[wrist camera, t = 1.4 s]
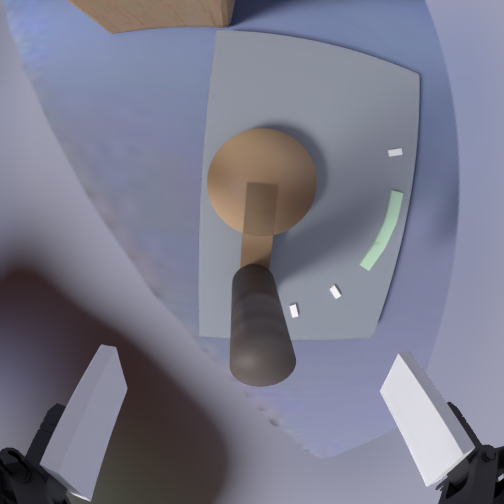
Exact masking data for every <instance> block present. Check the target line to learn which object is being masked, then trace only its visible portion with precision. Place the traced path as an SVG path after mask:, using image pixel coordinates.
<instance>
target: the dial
mask: <svg viewBox="0 0 504 504" xmlns="http://www.w3.org/2000/svg"><path fill="white" fill-rule="evenodd" d="M207 189H208V195H209V198H210V201H211V204H212V206H213V208H214V209H215V211H216V213H217V214H218V215H219V217H220V218H221V219H222V220H223V221H224V222H225V223H226V224H228V225H229V226H230V227H232V228H233V229H235V230H237V231H239V232H242V245H241V259H240V269H239V270H238V271H237V272H236V273H235V275H234V277H233V280H232V298H231V332H230V370H231V372H232V374H233V376H234V377H235V378H236V379H237V380H239V381H240V382H242V383H244V384H247V385H251V386H258V387H262V386H270V385H274V384H277V383H279V382H281V381H283V380H284V379H286V378H287V377H288V376H289V375H290V374H291V373H292V372H293V370H294V368H295V365H296V358H295V354H294V350H293V346H292V342H291V339H290V335H289V331H288V328H287V324H286V320H285V316H284V313H283V309H282V305H281V302H280V298H279V294H278V291H277V287H276V284H275V280H274V277H273V275H272V273H271V272H270V270H269V268H270V259H271V251H272V242H273V235H275V234H279V233H282V232H284V231H286V230H288V229H290V228H292V227H293V226H295V225H296V224H297V223H298V222H299V221H301V220H302V219H303V217H304V216H305V215H306V214H307V212H308V211H309V209H310V207H311V205H312V203H313V201H314V198H315V194H316V189H317V176H316V170H315V166H314V164H313V161H312V159H311V157H310V155H309V154H308V152H307V151H306V149H305V148H304V147H303V146H302V145H301V144H300V143H299V142H298V141H297V140H296V139H294V138H293V137H291V136H289V135H288V134H285V133H283V132H280V131H277V130H273V129H264V128H259V129H251V130H247V131H244V132H241V133H239V134H237V135H235V136H233V137H232V138H230V139H229V140H228V141H226V142H225V143H224V144H223V145H222V146H221V147H220V148H219V150H218V151H217V152H216V154H215V156H214V157H213V159H212V162H211V164H210V167H209V171H208V176H207Z"/></svg>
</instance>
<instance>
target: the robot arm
mask: <svg viewBox="0 0 504 504" xmlns="http://www.w3.org/2000/svg"><path fill="white" fill-rule="evenodd" d="M126 391H127V385H126V382H125V379H124V376H123V372H122V368H121V365H120V361H119V357H118V353H117V349H116V347H111V346H106V345H101V346H100V348H99V349H98V351H97V352H96V354H95V356H94V358H93V359H92V361H91V363H90V364H89V366H88V368H87V370H86V372H85V373H84V375H83V377H82V379H81V380H80V382H79V384H78V386H77V388H76V390H75V391H74V393H73V395H72V397H71V399H70V401H69V403H68V405H67V407H66V406H63V405H60V404H56V405H54V406H53V407H52V408H51V409H50V410H49V411H48V412H47V414H46V416H45V418H44V421H43V422H42V423H41V425H40V429H39V430H38V431H37V433H36V435H35V438H34V439H33V441H32V443H31V445H30V448H29V450H28V452H27V454H26V456H25V457H24V456H23V455H22V454H21V453H20V452H19V451H18V450H16V449H14V448H5V449H2V450H1V451H0V504H71V503H70V501H69V499H68V497H67V496H66V492H67V490H68V491H70V492H71V493H72V494H74V495H76V496H78V497H81V498H83V499H86V500H88V501H91V498H92V494H93V491H94V487H95V484H96V480H97V477H98V473H99V470H100V467H101V463H102V460H103V457H104V454H105V451H106V448H107V445H108V442H109V439H110V436H111V433H112V430H113V427H114V424H115V421H116V418H117V415H118V413H119V410H120V407H121V404H122V402H123V399H124V396H125V394H126ZM380 393H381V394H382V396H383V398H384V400H385V402H386V404H387V406H388V408H389V410H390V412H391V414H392V416H393V418H394V420H395V422H396V424H397V426H398V427H399V429H400V431H401V433H402V436H403V438H404V440H405V442H406V444H407V446H408V447H409V450H410V452H411V454H412V456H413V458H414V460H415V463H416V465H417V467H418V469H419V471H420V473H421V476H422V478H423V480H424V482H425V484H426V486H429V485H431V484H433V483H435V482H437V481H439V480H440V479H441V478H443V477H444V476H445V475H446V474H447V476H448V477H447V478H446V479H445V480H444V481H443V482H441V483H440V484H439V485H438V486H437V488H436V490H438V489H439V488H440V487H442V486H443V485H444V486H443V487H442V488H441V489H440V491H442V494H441V497H440V500H439V503H438V504H504V478H503V479H502V480H501V481H498V477H499V476H501V475H502V474H503V473H504V446H502V447H499V448H494V447H493V446H491V445H482V444H481V443H480V441H479V440H478V439H477V437H476V435H475V433H474V432H473V430H472V429H471V427H470V426H469V424H468V423H466V420H465V418H464V417H462V414H461V412H460V411H459V409H458V408H457V407H456V406H454V405H453V404H452V403H451V402H448V403H446V401H445V400H444V398H443V397H442V395H441V394H440V393H439V391H438V390H437V389H436V387H435V385H434V384H433V382H432V381H431V380H430V378H429V377H428V375H427V374H426V373H425V371H424V370H423V369H422V367H421V366H420V365H419V363H418V362H417V360H416V359H415V358H414V356H413V355H412V354H411V352H404V353H398V355H397V357H396V360H395V362H394V364H393V366H392V368H391V370H390V372H389V374H388V376H387V378H386V380H385V382H384V384H383V386H382V388H381V390H380Z"/></svg>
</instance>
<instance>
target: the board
mask: <svg viewBox="0 0 504 504" xmlns="http://www.w3.org/2000/svg"><path fill="white" fill-rule="evenodd" d="M419 98H420V80H419V74H417V73H415V72H412V71H410V70H408V69H405V68H403V67H400V66H398V65H395V64H393V63H390V62H387V61H384V60H382V59H379V58H376V57H373V56H370V55H367V54H364V53H360V52H357V51H354V50H350V49H346V48H343V47H339V46H335V45H331V44H327V43H322V42H318V41H313V40H308V39H302V38H297V37H291V36H284V35H277V34H269V33H259V32H247V31H230V30H217V31H216V38H215V45H214V53H213V60H212V68H211V77H210V86H209V95H208V105H207V115H206V126H205V139H204V152H203V167H202V184H201V205H200V234H199V336H203V337H217V338H230V332H231V298H232V280H233V277H234V275H235V273H236V272H237V271H238V270H239V269H240V259H241V245H242V232H239V231H237V230H235V229H233V228H232V227H230V226H229V225H228V224H226V223H225V222H224V221H223V220H222V219H221V218H220V217H219V215H218V214H217V213H216V211H215V209H214V208H213V206H212V204H211V201H210V198H209V195H208V189H207V176H208V171H209V167H210V164H211V162H212V159H213V157H214V156H215V154H216V152H217V151H218V150H219V148H220V147H221V146H222V145H223V144H224V143H225V142H226V141H228V140H229V139H230V138H232V137H233V136H235V135H237V134H239V133H241V132H244V131H247V130H251V129H259V128H264V129H273V130H277V131H280V132H283V133H285V134H288V135H289V136H291V137H293V138H294V139H296V140H297V141H298V142H299V143H300V144H301V145H302V146H303V147H304V148H305V149H306V151H307V152H308V154H309V155H310V157H311V159H312V161H313V164H314V166H315V170H316V176H317V189H316V194H315V198H314V201H313V203H312V205H311V207H310V209H309V211H308V212H307V214H306V215H305V216H304V217H303V219H302V220H301V221H299V222H298V223H297V224H296V225H295V226H293V227H292V228H290V229H288V230H286V231H284V232H282V233H279V234H275V235H273V242H272V251H271V259H270V268H269V270H270V272H271V273H272V275H273V277H274V280H275V284H276V287H277V291H278V294H279V298H280V302H281V305H282V309H283V313H284V316H285V320H286V324H287V328H288V331H289V335H290V339H291V340H324V339H350V338H367V337H372V336H373V334H374V331H375V328H376V326H377V323H378V320H379V317H380V314H381V311H382V308H383V305H384V302H385V299H386V296H387V293H388V289H389V286H390V283H391V279H392V276H393V272H394V269H395V265H396V261H397V257H398V253H399V249H400V245H401V241H402V236H403V232H404V227H405V222H406V217H407V212H408V207H409V201H410V195H411V189H412V183H413V176H414V168H415V160H416V150H417V139H418V125H419Z"/></svg>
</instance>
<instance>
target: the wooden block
mask: <svg viewBox="0 0 504 504" xmlns="http://www.w3.org/2000/svg"><path fill="white" fill-rule="evenodd" d="M67 1H69V2H70V3H72V4H73V5H74V6H76V7H77V8H78V9H80V10H81V11H82V12H84V13H85V14H86V15H88V16H89V17H90V18H91V19H93V20H94V21H95V22H97V23H98V24H99V25H100V26H102V27H103V28H104V29H105V30H107V31H108V32H109V33H120V32H127V31H134V30H142V29H152V28H166V27H228V26H229V24H230V23H231V20H232V15H233V10H234V5H235V0H67Z"/></svg>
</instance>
